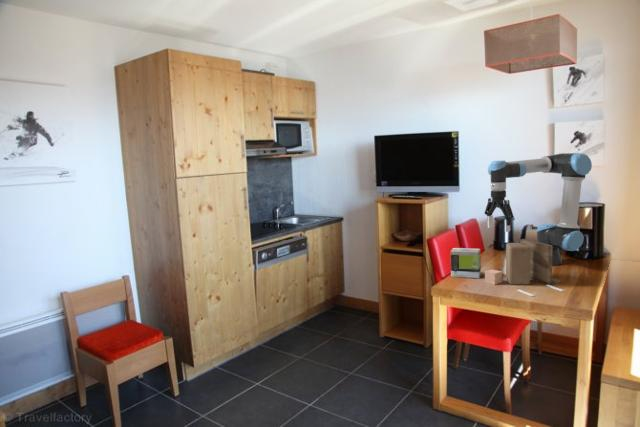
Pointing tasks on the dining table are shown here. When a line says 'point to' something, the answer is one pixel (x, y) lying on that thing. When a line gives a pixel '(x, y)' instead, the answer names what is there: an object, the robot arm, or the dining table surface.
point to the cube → (493, 276)
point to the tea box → (465, 262)
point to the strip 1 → (525, 292)
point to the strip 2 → (554, 288)
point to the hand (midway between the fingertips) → (498, 229)
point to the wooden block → (518, 263)
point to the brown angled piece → (540, 262)
